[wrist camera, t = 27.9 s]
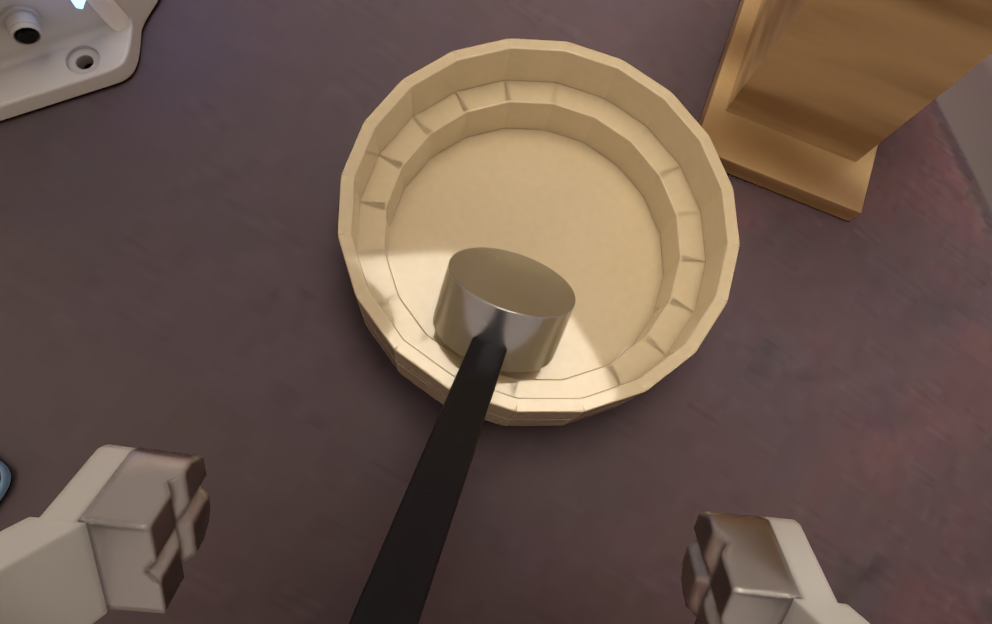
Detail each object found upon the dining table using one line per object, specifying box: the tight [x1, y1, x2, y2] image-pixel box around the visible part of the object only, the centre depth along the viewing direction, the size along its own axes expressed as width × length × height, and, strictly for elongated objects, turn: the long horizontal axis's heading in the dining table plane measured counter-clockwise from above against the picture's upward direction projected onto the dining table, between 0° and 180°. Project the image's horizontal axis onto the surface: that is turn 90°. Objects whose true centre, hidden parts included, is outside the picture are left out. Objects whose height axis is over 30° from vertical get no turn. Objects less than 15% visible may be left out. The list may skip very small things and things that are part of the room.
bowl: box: [338, 38, 740, 426], centre depth 34 cm, size 18×18×6 cm
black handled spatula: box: [349, 247, 576, 624], centre depth 24 cm, size 22×6×3 cm
